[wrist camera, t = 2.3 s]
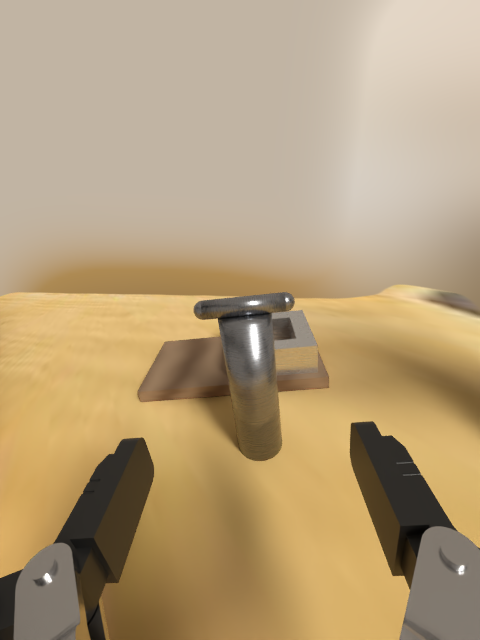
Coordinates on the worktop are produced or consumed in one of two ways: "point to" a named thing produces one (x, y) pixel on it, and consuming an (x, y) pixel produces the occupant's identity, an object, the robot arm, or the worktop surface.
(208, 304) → the chuck key
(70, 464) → the worktop surface
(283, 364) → the stand
